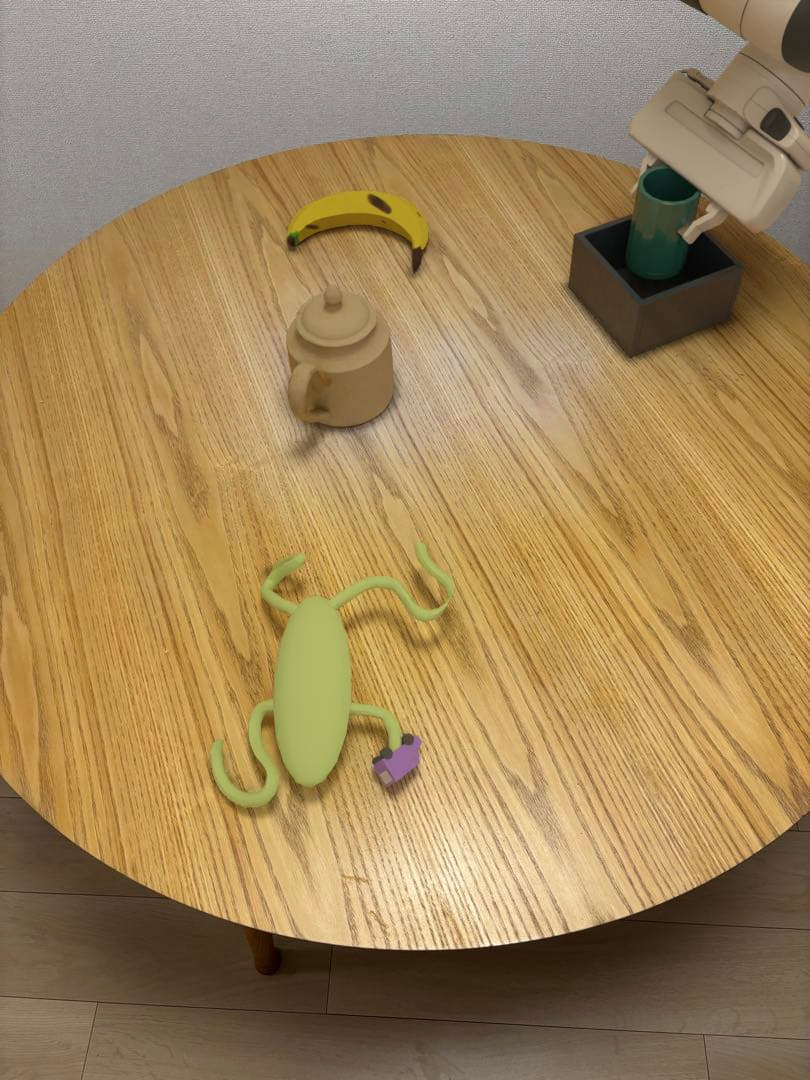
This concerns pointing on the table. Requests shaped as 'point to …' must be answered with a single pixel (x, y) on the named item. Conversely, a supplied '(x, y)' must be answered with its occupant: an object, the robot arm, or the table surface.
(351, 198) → the banana
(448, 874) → the table surface
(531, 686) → the table surface
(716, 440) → the table surface
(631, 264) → the cup
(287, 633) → the figurine
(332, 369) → the sugar bowl
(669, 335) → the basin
